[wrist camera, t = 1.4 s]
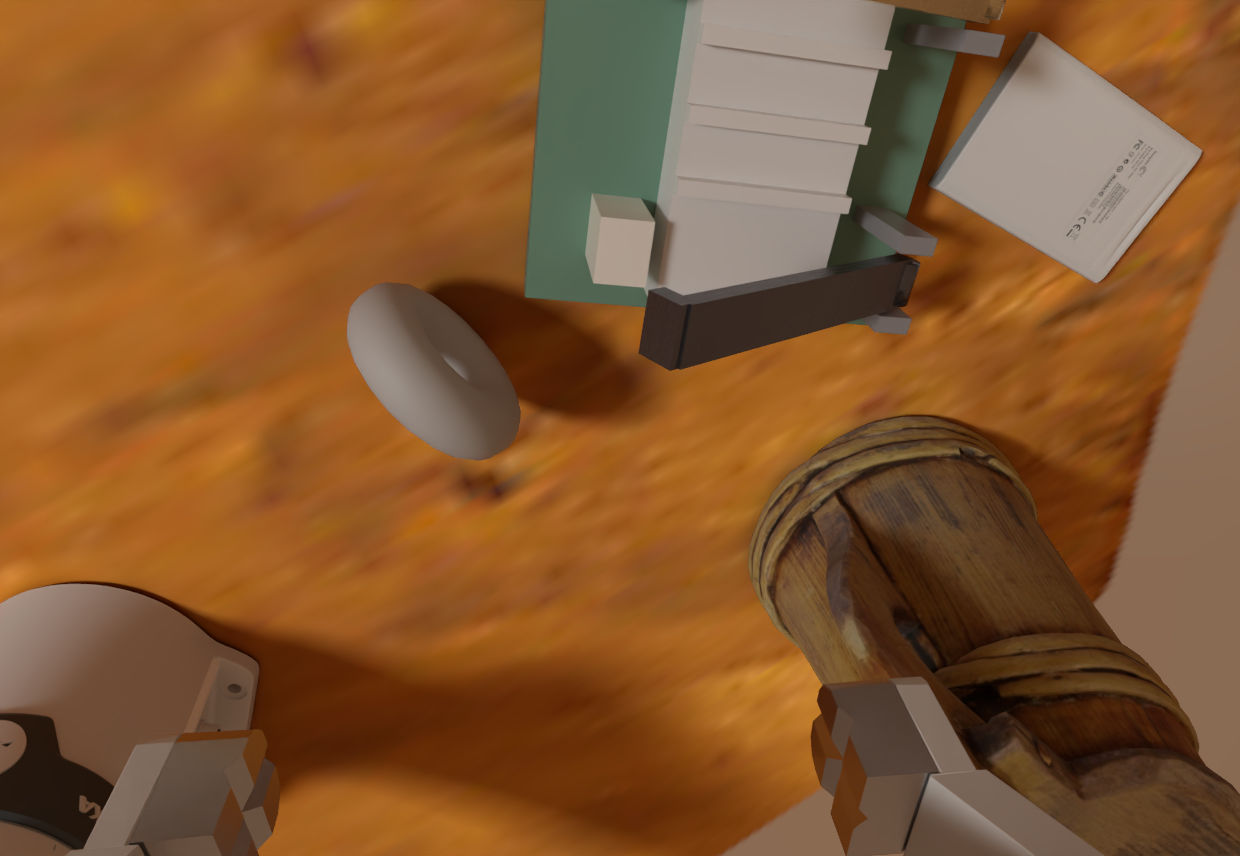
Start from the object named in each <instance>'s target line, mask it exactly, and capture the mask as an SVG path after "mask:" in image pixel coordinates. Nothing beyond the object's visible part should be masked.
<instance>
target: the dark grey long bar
mask: <svg viewBox="0 0 1240 856" xmlns="http://www.w3.org/2000/svg"><path fill="white" fill-rule="evenodd" d="M919 267H920V262H918V261H917V260H914V259H913V258H910V257H907V256H904V255H901V254H893V255H888V256H883V257H878V258H873V259H868V260H863V261H857V262H852V263H847V264H842V265H837V266H832V267H827V268H821V269H816V270H811V271H806V272H801V273H796V274H791V275H785V276H780V277H775V278H770V279H765V280H760V281H755V282H749V283H744V284H739V285H734V286H729V287H724V288H719V289H714V290H708V291H703V292H698V293H693V294H688V295H681V294H679V293H677V292H675V291H672V290H670V289H668V288H666V287H662V288H656V289H650V290H648V297H647V303H646V310H645V316H644V323H643V329H642V335H641V342H640V348H639V354H641V355H643V356H644V357H646V358H648V359H650V360H652V361H653V362H655V363H657V364H659V365H661V366H662V367H664V368H666V369H668V370H670V371H671V370H675V369H680V370H681V369H684V368H688V367H691V366H695V365H698V364H702V363H705V362H709V361H712V360H716V359H720V358H723V357H727V356H730V355H734V354H737V353H741V352H744V351H748V350H752V349H755V348H759V347H762V346H766V345H769V344H773V343H776V342H780V341H783V340H787V339H791V338H794V337H798V336H801V335H805V334H808V333H812V332H815V331H819V330H822V329H826V328H830V327H833V326H837V325H840V324H844V323H847V322H851V321H854V320H858V319H862V318H865V317H869V316H872V315H876V314H879V313H883V312H886V311H890V310H893V309H897V308H898V307H904V306H907V303H908V300H909V297H910V294H911V291H912V288H913V285H914V282H915V279H916V276H917V273H918V270H919Z"/></svg>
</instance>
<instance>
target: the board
mask: <svg viewBox="0 0 1240 856" xmlns="http://www.w3.org/2000/svg"><path fill="white" fill-rule="evenodd" d="M965 25H966V21H963V20H958V19H953V18H948V17H943V16H938V15H933V14H928V13H923V12H918V11H913V10H908V9H903V8H898V7H893V6H887V5H882V4H877V3H872V2H867V1H862V0H545V12H544V25H543V39H542V52H541V66H540V79H539V93H538V106H537V120H536V133H535V146H534V160H533V173H532V187H531V200H530V214H529V227H528V240H527V254H526V267H525V281H524V289H525V297H526V298H539V299H551V300H563V301H576V302H588V303H601V304H613V305H625V306H638V307H646V303H647V297H648V290H650V289H656V288H662V287H666V288H668V289H670V290H672V291H675V292H677V293H679V294H681V295H688V294H693V293H698V292H703V291H708V290H714V289H719V288H724V287H729V286H734V285H739V284H744V283H749V282H755V281H760V280H765V279H770V278H775V277H780V276H785V275H791V274H796V273H801V272H806V271H811V270H816V269H821V268H827V267H832V266H837V265H842V264H847V263H852V262H857V261H863V260H868V259H873V258H878V257H883V256H888V255H893V254H895V253H896V251H897V252H898V253H900V254H910V255H921V256H931V257H932V256H933V253H934V250H935V247H936V244H937V241H938V239H937V238H935V237H934V236H932V235H930V234H929V233H927V232H925V231H924V230H922V229H920V228H919V227H917V226H915V225H914V224H912V223H910V222H909V221H907V220H906V217H907V213H908V210H909V207H910V204H911V200H912V197H913V194H914V191H915V187H916V184H917V181H918V178H919V174H920V171H921V168H922V165H923V161H924V158H925V155H926V152H927V148H928V145H929V142H930V139H931V135H932V132H933V129H934V126H935V122H936V119H937V116H938V113H939V109H940V106H941V103H942V100H943V96H944V93H945V90H946V87H947V83H948V80H949V77H950V74H951V70H952V67H953V64H954V61H955V57H956V54H957V51H958V52H964V53H971V54H978V55H985V56H991V57H999V54H1000V51H1001V48H1002V45H1003V42H1004V39H1005V36H1006V35H1000V34H993V33H987V32H980V31H974V30H967V29H964V28H965ZM911 320H912V319H911V318H910V317H909V316H908V315H907V314H905V313H904V312H903V311H902V310H901V309H899V308H897V309H893V310H890V311H886V312H883V313H879V314H876V315H872V316H869V317H865V318H862V319H858V320H854V321H851V322H847V323H848V324H860V325H868V326H869V327H870V328H872V329H873V330H874V331H875V332H881V333H893V334H906V335H907V332H908V329H909V326H910V323H911Z"/></svg>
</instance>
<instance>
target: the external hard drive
mask: <svg viewBox="0 0 1240 856" xmlns="http://www.w3.org/2000/svg"><path fill="white" fill-rule="evenodd" d="M1201 153H1202V150H1201V149H1200V148H1198V147H1197V146H1195V145H1194V144H1193V143H1191V142H1190V141H1188V140H1187V139H1186V138H1184V137H1183V136H1182V135H1180V134H1179V133H1178V132H1176V131H1175V130H1174V129H1172V128H1171V127H1169V126H1168V125H1167V124H1165V123H1164V122H1163V121H1161V120H1160V119H1159V118H1157V117H1156V116H1154V115H1153V114H1152V113H1150V112H1149V111H1148V110H1146V109H1145V108H1143V107H1142V106H1141V105H1139V104H1138V103H1137V102H1135V101H1134V100H1132V99H1131V98H1130V97H1128V96H1127V95H1126V94H1124V93H1123V92H1121V91H1120V90H1119V89H1117V88H1116V87H1115V86H1113V85H1112V84H1110V83H1109V82H1108V81H1106V80H1105V79H1104V78H1102V77H1101V76H1099V75H1098V74H1097V73H1095V72H1094V71H1093V70H1091V69H1090V68H1088V67H1087V66H1086V65H1084V64H1083V63H1081V62H1080V61H1079V60H1077V59H1076V58H1074V57H1073V56H1072V55H1070V54H1069V53H1067V52H1066V51H1064V50H1063V49H1062V48H1060V47H1059V46H1058V45H1056V44H1055V43H1054V42H1052V41H1051V40H1049V39H1048V38H1046V37H1045V36H1044V35H1042V34H1041V33H1039V32H1029V33H1028V34H1027V35H1026V37H1025V38H1024V40H1023V42H1022V43H1021V45H1020V46H1019V48H1018V49H1017V51H1016V52H1015V54H1014V55H1013V57H1012V58H1011V60H1010V61H1009V63H1008V64H1007V66H1006V67H1005V69H1004V70H1003V72H1002V73H1001V75H1000V76H999V78H998V79H997V81H996V82H995V84H994V85H993V87H992V88H991V90H990V91H989V93H988V94H987V96H986V97H985V99H984V100H983V102H982V103H981V105H980V106H979V108H978V110H977V111H976V113H975V114H974V116H973V117H972V119H971V120H970V122H969V123H968V125H967V126H966V128H965V129H964V131H963V132H962V134H961V135H960V137H959V138H958V140H957V141H956V143H955V144H954V146H953V147H952V149H951V150H950V152H949V153H948V155H947V156H946V158H945V159H944V161H943V162H942V164H941V165H940V167H939V168H938V170H937V171H936V173H935V174H934V176H933V177H932V179H931V180H930V182H929V183H928V186H930V187H931V188H933V189H935V190H937V191H938V192H940V193H942V194H943V195H945V196H947V197H948V198H950V199H952V200H953V201H955V202H957V203H959V204H960V205H962V206H964V207H966V208H967V209H969V210H971V211H973V212H974V213H976V214H978V215H979V216H981V217H983V218H984V219H986V220H988V221H989V222H991V223H993V224H995V225H996V226H998V227H1000V228H1002V229H1003V230H1005V231H1007V232H1008V233H1010V234H1012V235H1013V236H1015V237H1017V238H1018V239H1020V240H1022V241H1024V242H1025V243H1027V244H1029V245H1030V246H1032V247H1034V248H1035V249H1037V250H1039V251H1040V252H1042V253H1044V254H1046V255H1047V256H1049V257H1051V258H1052V259H1054V260H1056V261H1058V262H1059V263H1061V264H1063V265H1064V266H1066V267H1068V268H1069V269H1071V270H1073V271H1075V272H1076V273H1078V274H1080V275H1081V276H1083V277H1085V278H1086V279H1088V280H1090V281H1092V282H1094V283H1098V282H1100V281H1101V280H1102V279H1103V278H1104V277H1105V276H1106V275H1107V274H1108V272H1109V271H1110V270H1111V269H1112V267H1113V266H1114V265H1115V264H1116V262H1117V261H1118V260H1119V259H1120V257H1121V256H1122V255H1123V254H1124V252H1125V251H1126V250H1127V248H1128V247H1129V246H1130V245H1131V243H1132V242H1133V241H1134V240H1135V238H1136V237H1137V236H1138V235H1139V233H1140V232H1141V231H1142V230H1143V228H1144V227H1145V226H1146V225H1147V223H1148V222H1149V221H1150V220H1151V219H1152V217H1153V216H1154V215H1155V214H1156V212H1157V211H1158V210H1159V209H1160V207H1161V206H1162V205H1163V204H1164V202H1165V201H1166V200H1167V199H1168V197H1169V196H1170V195H1171V194H1172V192H1173V191H1174V190H1175V189H1176V187H1177V186H1178V185H1179V184H1180V182H1181V181H1182V180H1183V179H1184V177H1185V176H1186V175H1187V174H1188V173H1189V171H1190V170H1191V169H1192V168H1193V166H1194V165H1195V164H1196V162H1197V161H1198V159H1199V158H1200V156H1201Z"/></svg>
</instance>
